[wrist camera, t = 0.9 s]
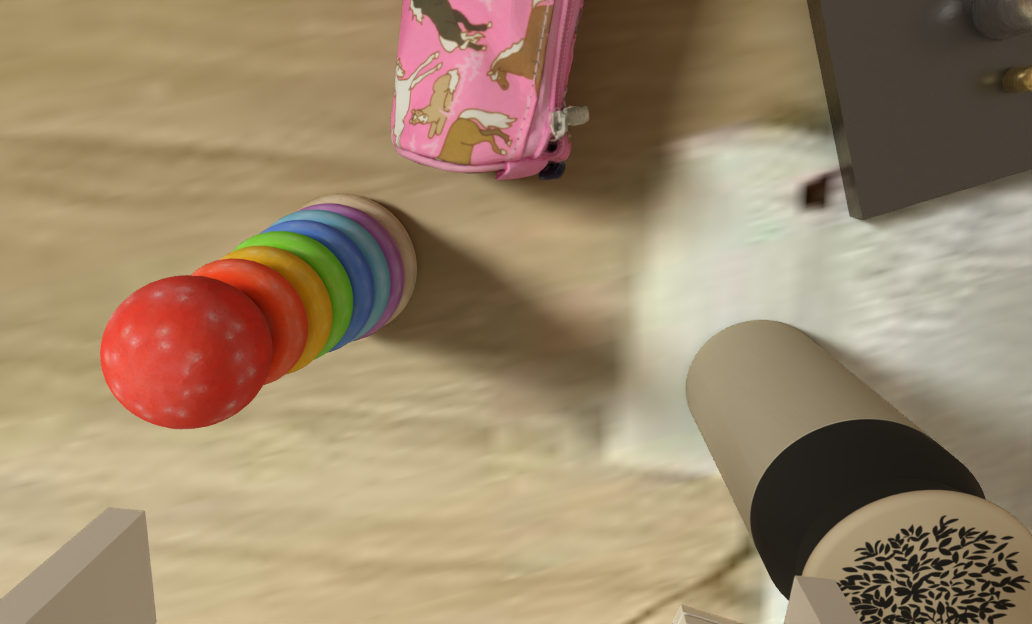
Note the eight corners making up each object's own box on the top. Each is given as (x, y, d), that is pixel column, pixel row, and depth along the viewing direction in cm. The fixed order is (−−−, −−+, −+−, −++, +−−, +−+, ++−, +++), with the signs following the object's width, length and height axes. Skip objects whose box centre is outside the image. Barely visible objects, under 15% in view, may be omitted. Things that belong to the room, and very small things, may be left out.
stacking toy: (420, 195, 36) (283, 263, 18) (419, 332, 38) (296, 515, 20) (281, 188, 36) (6, 246, 18) (288, 323, 38) (50, 496, 20)
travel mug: (669, 340, 37) (769, 525, 20) (808, 300, 36) (1042, 459, 19) (703, 459, 39) (821, 722, 22) (836, 424, 38) (1072, 672, 21)
